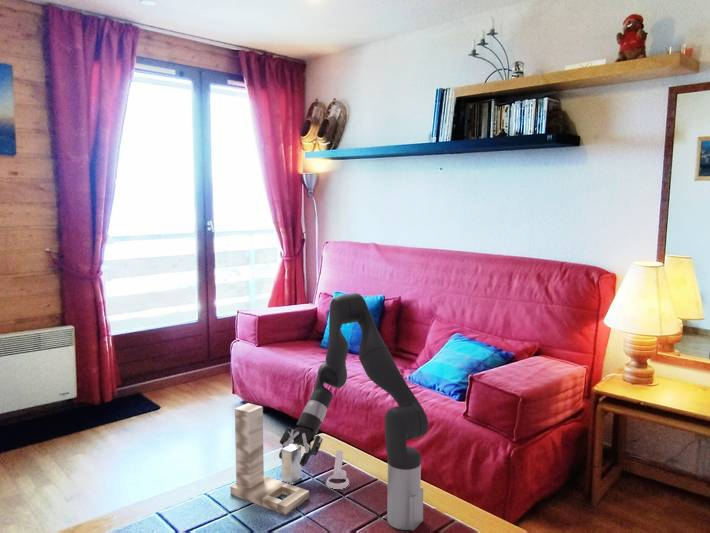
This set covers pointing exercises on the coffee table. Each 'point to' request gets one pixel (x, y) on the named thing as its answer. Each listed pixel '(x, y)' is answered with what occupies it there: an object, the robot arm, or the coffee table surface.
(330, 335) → the robot arm
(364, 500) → the coffee table surface
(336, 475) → the white vr controller
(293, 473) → the smooth gray rectangular block
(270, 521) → the coffee table surface
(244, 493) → the beam with square loop
